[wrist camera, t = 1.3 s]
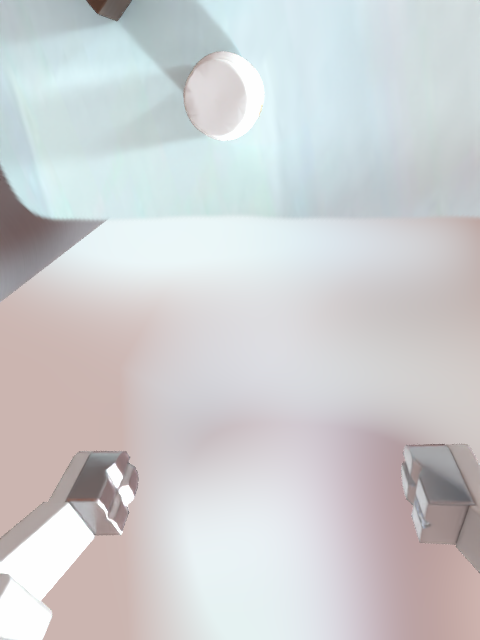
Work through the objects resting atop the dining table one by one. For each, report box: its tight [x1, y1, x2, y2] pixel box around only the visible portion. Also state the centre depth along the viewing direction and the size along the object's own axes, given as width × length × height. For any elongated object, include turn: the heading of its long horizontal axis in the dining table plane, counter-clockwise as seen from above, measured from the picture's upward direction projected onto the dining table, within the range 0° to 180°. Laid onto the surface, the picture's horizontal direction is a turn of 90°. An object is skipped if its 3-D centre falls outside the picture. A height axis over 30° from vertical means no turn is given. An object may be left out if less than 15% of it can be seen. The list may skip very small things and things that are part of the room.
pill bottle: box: [183, 51, 264, 141], centre depth 21 cm, size 4×4×8 cm
